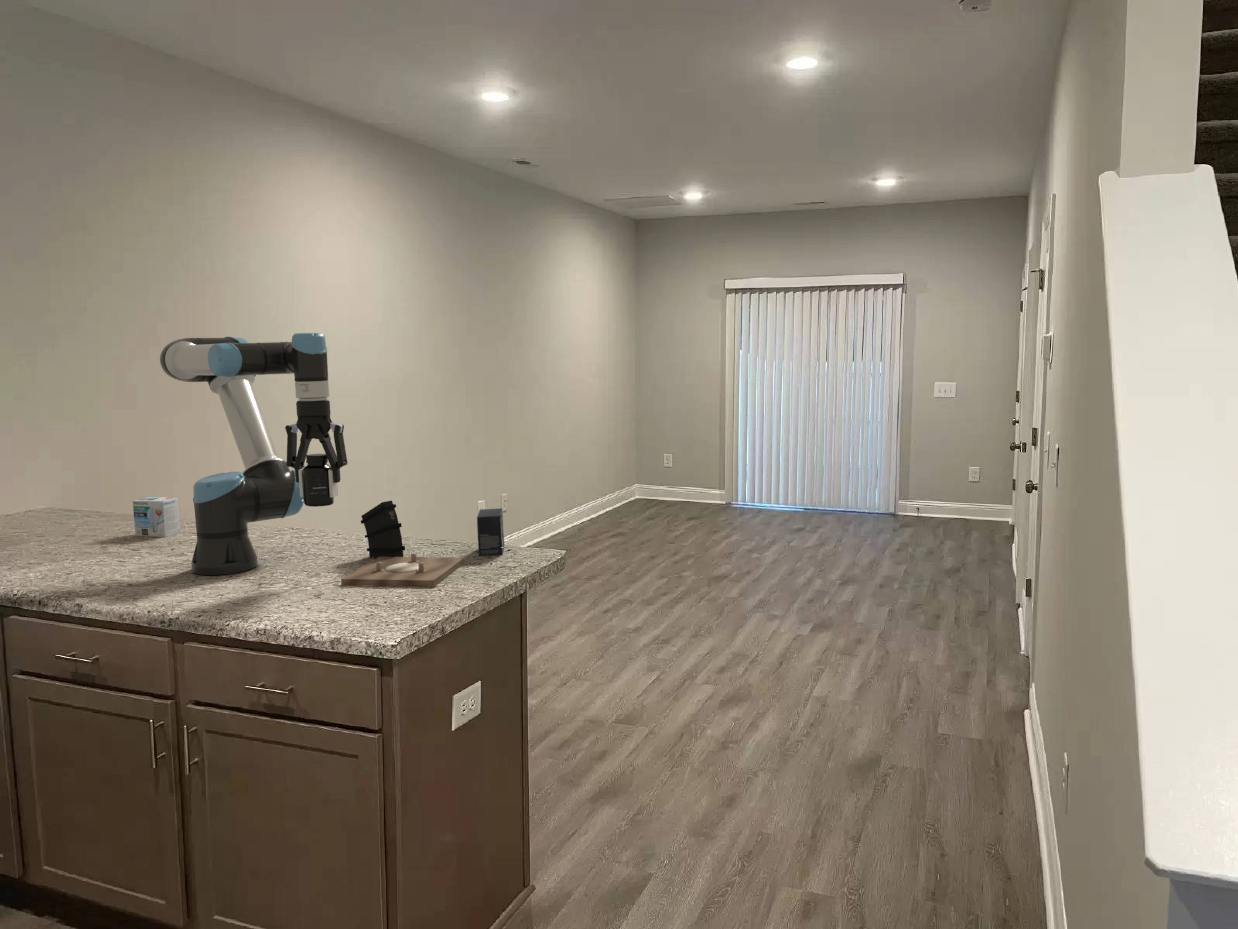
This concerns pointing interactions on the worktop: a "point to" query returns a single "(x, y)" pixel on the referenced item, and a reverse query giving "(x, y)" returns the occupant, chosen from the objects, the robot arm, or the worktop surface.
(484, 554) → the small box
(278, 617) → the worktop surface
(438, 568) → the board
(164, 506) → the light bulb box
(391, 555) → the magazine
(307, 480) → the supplement bottle
